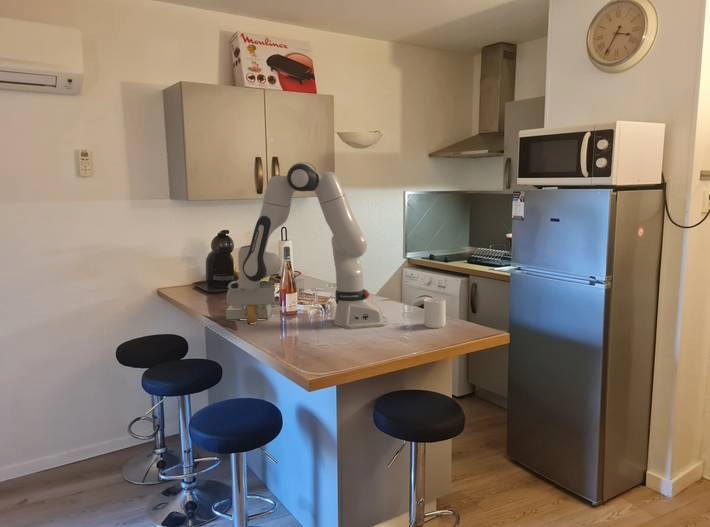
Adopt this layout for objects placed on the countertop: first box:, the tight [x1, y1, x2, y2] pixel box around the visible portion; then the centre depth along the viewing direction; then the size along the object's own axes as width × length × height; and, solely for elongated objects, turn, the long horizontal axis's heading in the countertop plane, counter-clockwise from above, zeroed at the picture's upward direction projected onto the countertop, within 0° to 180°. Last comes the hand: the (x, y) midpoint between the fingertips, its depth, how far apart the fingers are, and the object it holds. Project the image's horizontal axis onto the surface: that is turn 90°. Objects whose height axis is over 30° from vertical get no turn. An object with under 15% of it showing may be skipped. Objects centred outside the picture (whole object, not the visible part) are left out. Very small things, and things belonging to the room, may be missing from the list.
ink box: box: [294, 278, 305, 294], centre depth 267 cm, size 9×9×12 cm
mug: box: [423, 297, 447, 329], centre depth 219 cm, size 9×12×11 cm
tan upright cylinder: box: [246, 305, 258, 324], centre depth 230 cm, size 4×4×8 cm
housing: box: [225, 304, 272, 321], centre depth 240 cm, size 18×11×6 cm, turn 91°
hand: (251, 315), depth 230 cm, fingers closed on tan upright cylinder, 4 cm apart
